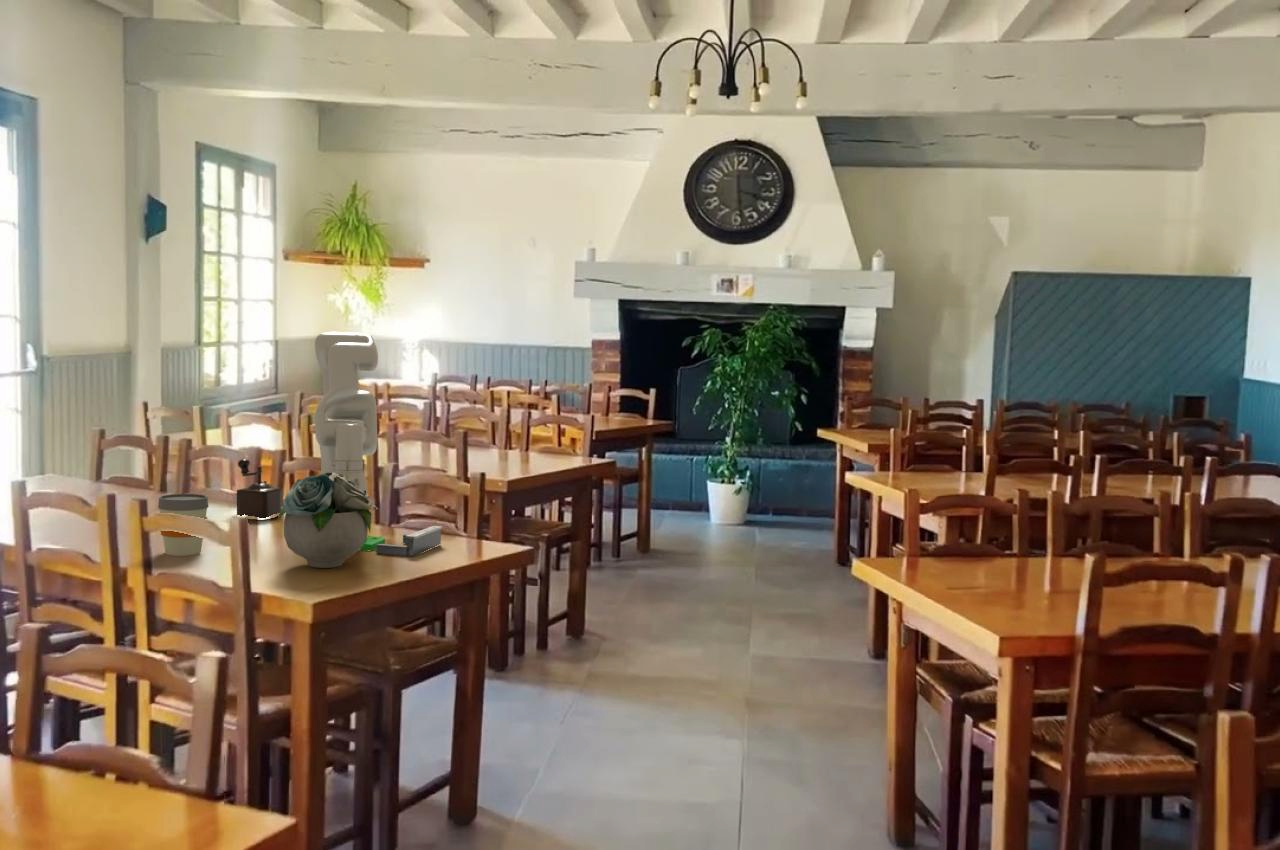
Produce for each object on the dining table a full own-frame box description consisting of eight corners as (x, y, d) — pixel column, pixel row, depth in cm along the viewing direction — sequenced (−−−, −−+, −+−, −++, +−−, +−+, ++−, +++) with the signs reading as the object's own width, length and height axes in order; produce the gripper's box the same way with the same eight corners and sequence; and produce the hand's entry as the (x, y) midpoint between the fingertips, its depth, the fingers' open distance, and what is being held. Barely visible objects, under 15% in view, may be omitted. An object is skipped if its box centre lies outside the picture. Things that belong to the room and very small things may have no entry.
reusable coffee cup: (159, 548, 315) (159, 493, 313) (208, 547, 319) (209, 493, 318) (156, 557, 303) (156, 500, 302) (207, 556, 307) (208, 500, 306)
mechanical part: (371, 551, 323) (372, 523, 322) (351, 550, 324) (351, 521, 323) (388, 544, 335) (388, 516, 334) (368, 543, 336) (369, 515, 335)
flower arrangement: (387, 571, 296) (389, 476, 295) (287, 578, 284) (288, 479, 282) (359, 553, 318) (361, 465, 316) (265, 559, 306) (266, 467, 304)
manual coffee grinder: (284, 516, 375) (284, 460, 374) (264, 521, 364) (265, 464, 363) (241, 512, 379) (242, 457, 378) (221, 517, 368) (221, 461, 367)
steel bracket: (376, 553, 319) (376, 533, 319) (405, 542, 337) (405, 523, 337) (414, 557, 316) (414, 536, 316) (441, 545, 334) (442, 526, 334)
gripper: (318, 466, 327) (317, 530, 328) (367, 468, 324) (365, 534, 325) (331, 464, 335) (330, 527, 336) (379, 466, 331) (378, 530, 332)
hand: (348, 530), depth 330 cm, fingers closed
